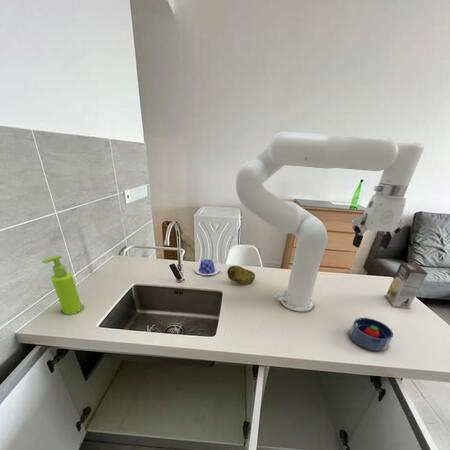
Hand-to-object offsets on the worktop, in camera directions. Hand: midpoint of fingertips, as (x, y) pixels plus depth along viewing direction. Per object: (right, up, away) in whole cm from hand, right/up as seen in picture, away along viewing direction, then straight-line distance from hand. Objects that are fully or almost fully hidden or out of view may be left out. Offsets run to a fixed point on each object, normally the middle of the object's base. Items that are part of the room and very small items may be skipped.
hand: (369, 246), depth 81 cm
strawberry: (-1, -31, -2) cm, 31 cm away
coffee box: (+24, -19, +21) cm, 37 cm away
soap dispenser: (-103, -22, +5) cm, 105 cm away
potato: (-41, -10, +30) cm, 52 cm away
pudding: (-57, -4, +38) cm, 69 cm away
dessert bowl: (-1, -31, -1) cm, 31 cm away
